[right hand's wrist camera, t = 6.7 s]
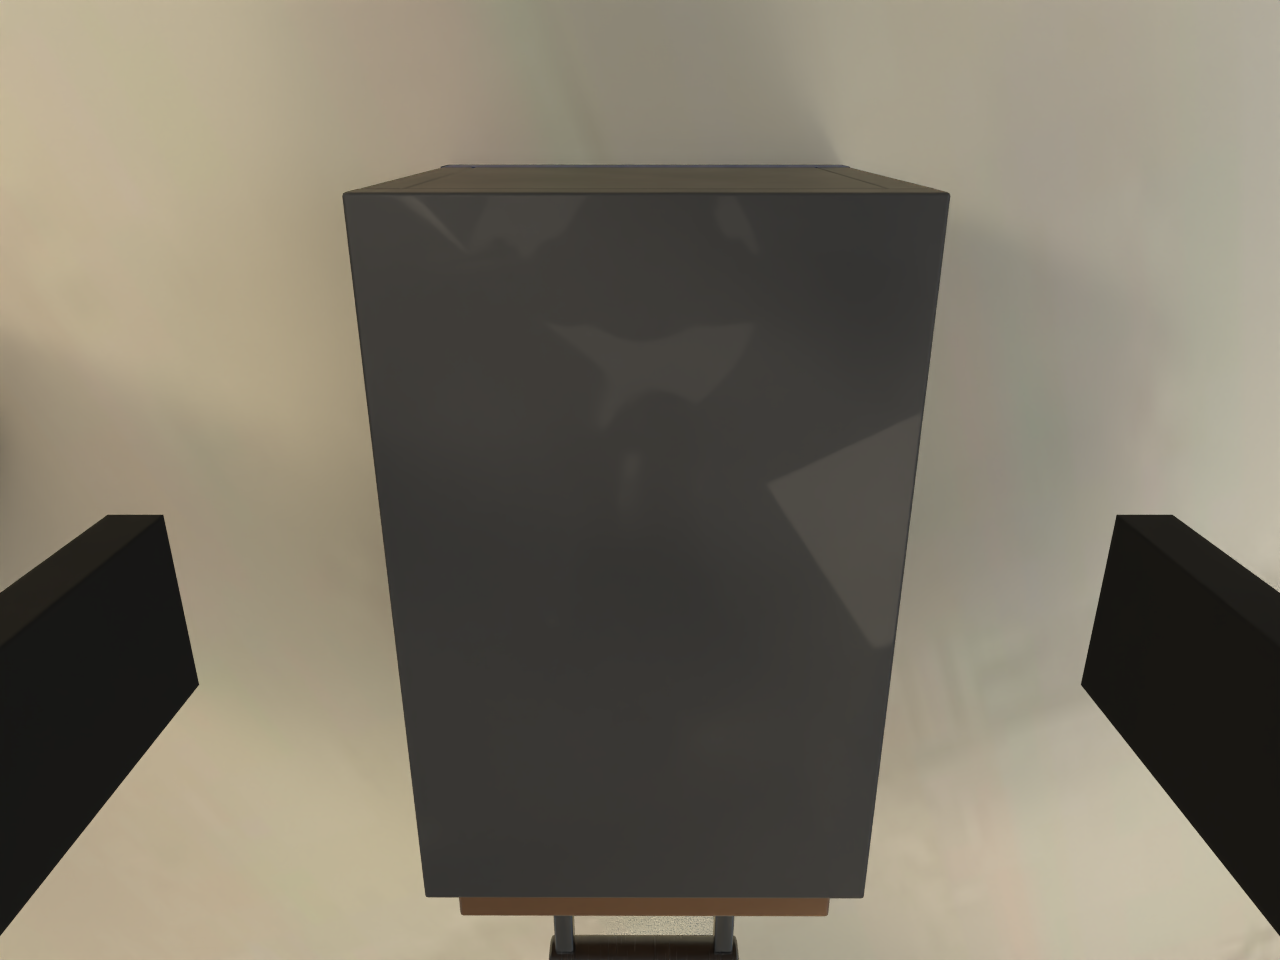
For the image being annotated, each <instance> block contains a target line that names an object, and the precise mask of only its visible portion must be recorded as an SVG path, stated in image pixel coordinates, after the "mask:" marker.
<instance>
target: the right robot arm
mask: <svg viewBox="0 0 1280 960" xmlns="http://www.w3.org/2000/svg"><path fill="white" fill-rule="evenodd" d="M198 685H199V682H198V677H197V673H196V668H195V663H194V658H193V654H192V649H191V644H190V640H189V635H188V630H187V625H186V621H185V616H184V611H183V606H182V602H181V597H180V592H179V587H178V583H177V578H176V573H175V568H174V564H173V559H172V554H171V549H170V545H169V540H168V535H167V530H166V526H165V521H164V516H163V515H107V516H105V517H104V518H103V519H101V520H100V521H98V522H97V523H96V524H94V525H93V526H92V527H90V528H89V529H87V530H86V531H85V532H83V533H82V534H81V535H79V536H78V537H76V538H75V539H74V540H72V541H71V542H70V543H68V544H67V545H65V546H64V547H63V548H61V549H60V550H59V551H57V552H56V553H54V554H53V555H52V556H50V557H49V558H48V559H46V560H45V561H43V562H42V563H41V564H39V565H38V566H37V567H35V568H34V569H32V570H31V571H30V572H28V573H27V574H26V575H24V576H23V577H21V578H20V579H19V580H17V581H16V582H15V583H13V584H12V585H10V586H9V587H8V588H6V589H5V590H4V591H2V592H1V593H0V936H1V934H2V933H3V932H4V931H5V929H6V928H7V927H8V925H9V924H10V923H11V922H12V920H13V919H14V918H15V917H16V915H17V914H18V913H19V912H20V910H21V909H22V908H23V907H24V905H25V904H26V903H27V901H28V900H29V899H30V898H31V896H32V895H33V894H34V893H35V891H36V890H37V889H38V888H39V886H40V885H41V884H42V882H43V881H44V880H45V879H46V877H47V876H48V875H49V874H50V872H51V871H52V870H53V869H54V867H55V866H56V865H57V864H58V862H59V861H60V860H61V858H62V857H63V856H64V855H65V853H66V852H67V851H68V850H69V848H70V847H71V846H72V845H73V843H74V842H75V841H76V840H77V838H78V837H79V836H80V834H81V833H82V832H83V831H84V829H85V828H86V827H87V826H88V824H89V823H90V822H91V821H92V819H93V818H94V817H95V816H96V814H97V813H98V812H99V810H100V809H101V808H102V807H103V805H104V804H105V803H106V802H107V800H108V799H109V798H110V797H111V795H112V794H113V793H114V792H115V790H116V789H117V788H118V786H119V785H120V784H121V783H122V781H123V780H124V779H125V778H126V776H127V775H128V774H129V773H130V771H131V770H132V769H133V768H134V766H135V765H136V764H137V762H138V761H139V760H140V759H141V757H142V756H143V755H144V754H145V752H146V751H147V750H148V749H149V747H150V746H151V745H152V744H153V742H154V741H155V740H156V738H157V737H158V736H159V735H160V733H161V732H162V731H163V730H164V728H165V727H166V726H167V725H168V723H169V722H170V721H171V720H172V718H173V717H174V716H175V714H176V713H177V712H178V711H179V709H180V708H181V707H182V706H183V704H184V703H185V702H186V701H187V699H188V698H189V697H190V696H191V694H192V693H193V692H194V690H195V689H196V688H197V687H198ZM1081 685H1082V687H1083V688H1084V689H1085V690H1086V692H1087V693H1088V694H1089V696H1090V697H1091V698H1092V699H1093V701H1094V702H1095V703H1096V704H1097V706H1098V707H1099V708H1100V709H1101V711H1102V712H1103V713H1104V714H1105V716H1106V717H1107V718H1108V720H1109V721H1110V722H1111V723H1112V725H1113V726H1114V727H1115V728H1116V730H1117V731H1118V732H1119V733H1120V735H1121V736H1122V737H1123V738H1124V740H1125V741H1126V742H1127V744H1128V745H1129V746H1130V747H1131V749H1132V750H1133V751H1134V752H1135V754H1136V755H1137V756H1138V757H1139V759H1140V760H1141V761H1142V762H1143V764H1144V765H1145V766H1146V768H1147V769H1148V770H1149V771H1150V773H1151V774H1152V775H1153V776H1154V778H1155V779H1156V780H1157V781H1158V783H1159V784H1160V785H1161V786H1162V788H1163V789H1164V790H1165V792H1166V793H1167V794H1168V795H1169V797H1170V798H1171V799H1172V800H1173V802H1174V803H1175V804H1176V805H1177V807H1178V808H1179V809H1180V810H1181V812H1182V813H1183V814H1184V816H1185V817H1186V818H1187V819H1188V821H1189V822H1190V823H1191V824H1192V826H1193V827H1194V828H1195V829H1196V831H1197V832H1198V833H1199V834H1200V836H1201V837H1202V838H1203V840H1204V841H1205V842H1206V843H1207V845H1208V846H1209V847H1210V848H1211V850H1212V851H1213V852H1214V853H1215V855H1216V856H1217V857H1218V858H1219V860H1220V861H1221V862H1222V864H1223V865H1224V866H1225V867H1226V869H1227V870H1228V871H1229V872H1230V874H1231V875H1232V876H1233V877H1234V879H1235V880H1236V881H1237V882H1238V884H1239V885H1240V886H1241V888H1242V889H1243V890H1244V891H1245V893H1246V894H1247V895H1248V896H1249V898H1250V899H1251V900H1252V901H1253V903H1254V904H1255V905H1256V907H1257V908H1258V909H1259V910H1260V912H1261V913H1262V914H1263V915H1264V917H1265V918H1266V919H1267V920H1268V922H1269V923H1270V924H1271V925H1272V927H1273V928H1274V929H1275V931H1276V932H1277V933H1278V934H1279V936H1280V593H1279V592H1278V591H1276V590H1275V589H1274V588H1272V587H1271V586H1270V585H1268V584H1267V583H1265V582H1264V581H1263V580H1261V579H1260V578H1259V577H1257V576H1256V575H1254V574H1253V573H1252V572H1250V571H1249V570H1248V569H1246V568H1245V567H1243V566H1242V565H1241V564H1239V563H1238V562H1237V561H1235V560H1234V559H1232V558H1231V557H1230V556H1228V555H1227V554H1226V553H1224V552H1223V551H1221V550H1220V549H1219V548H1217V547H1216V546H1215V545H1213V544H1212V543H1210V542H1209V541H1208V540H1206V539H1205V538H1204V537H1202V536H1201V535H1199V534H1198V533H1197V532H1195V531H1194V530H1193V529H1191V528H1190V527H1188V526H1187V525H1186V524H1184V523H1183V522H1182V521H1180V520H1179V519H1177V518H1176V517H1175V516H1173V515H1117V516H1116V521H1115V526H1114V530H1113V535H1112V540H1111V545H1110V549H1109V554H1108V559H1107V564H1106V568H1105V573H1104V578H1103V583H1102V587H1101V592H1100V597H1099V602H1098V606H1097V611H1096V616H1095V621H1094V625H1093V630H1092V635H1091V640H1090V644H1089V649H1088V654H1087V658H1086V663H1085V668H1084V673H1083V677H1082V682H1081Z"/></svg>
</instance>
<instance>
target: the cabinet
mask: <svg viewBox="0 0 1280 960" xmlns="http://www.w3.org/2000/svg"><path fill="white" fill-rule="evenodd" d="M949 202H950V194H949V193H948V192H944V191H940V190H936V189H933V188H929V187H925V186H921V185H917V184H913V183H909V182H905V181H901V180H897V179H893V178H889V177H885V176H881V175H877V174H873V173H869V172H865V171H861V170H857V169H853V168H850V167H848V166H844V165H446V166H442V167H441V168H439V169H435V170H431V171H427V172H423V173H419V174H415V175H412V176H408V177H404V178H400V179H396V180H392V181H388V182H384V183H380V184H376V185H373V186H369V187H365V188H361V189H356V190H352V191H348V192H345V193H343V204H344V213H345V221H346V230H347V238H348V247H349V255H350V263H351V272H352V280H353V289H354V297H355V306H356V314H357V322H358V331H359V339H360V348H361V356H362V365H363V373H364V381H365V390H366V398H367V407H368V415H369V424H370V432H371V440H372V449H373V457H374V466H375V474H376V483H377V491H378V499H379V508H380V516H381V525H382V533H383V542H384V550H385V558H386V567H387V575H388V584H389V592H390V601H391V609H392V617H393V626H394V634H395V643H396V651H397V660H398V668H399V676H400V685H401V693H402V702H403V710H404V719H405V727H406V735H407V744H408V752H409V761H410V769H411V778H412V786H413V794H414V803H415V811H416V820H417V828H418V837H419V845H420V853H421V862H422V870H423V879H424V887H425V895H426V897H525V898H863V896H864V889H865V881H866V873H867V865H868V857H869V849H870V841H871V833H872V824H873V816H874V808H875V800H876V792H877V784H878V776H879V768H880V760H881V752H882V744H883V736H884V727H885V719H886V711H887V703H888V695H889V687H890V679H891V671H892V663H893V655H894V647H895V639H896V630H897V622H898V614H899V606H900V598H901V590H902V582H903V574H904V566H905V558H906V550H907V542H908V533H909V525H910V517H911V509H912V501H913V493H914V485H915V477H916V469H917V461H918V453H919V445H920V436H921V428H922V420H923V412H924V404H925V396H926V388H927V380H928V372H929V364H930V356H931V348H932V340H933V331H934V323H935V315H936V307H937V299H938V291H939V283H940V275H941V267H942V259H943V251H944V243H945V234H946V226H947V218H948V210H949Z"/></svg>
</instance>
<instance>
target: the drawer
mask: <svg viewBox="0 0 1280 960" xmlns="http://www.w3.org/2000/svg"><path fill="white" fill-rule="evenodd" d="M829 900H830V898H525V897H459V902H460V912H461V914H462V915H553V916H554V932H555V935H553V936H552V938H551V943H550V952H549V960H739V955H738V945H737V940H736V937H735V936H733V930H734V916H827V915H828V910H829ZM574 916H714V921H713V935H575V926H574Z"/></svg>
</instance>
